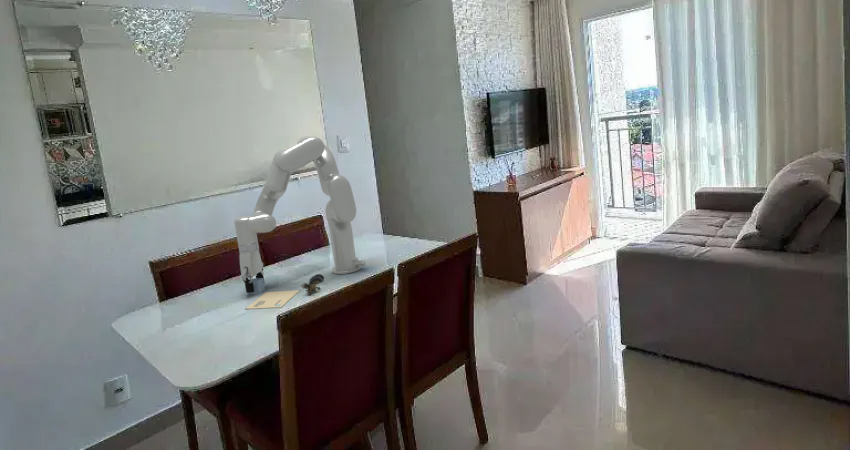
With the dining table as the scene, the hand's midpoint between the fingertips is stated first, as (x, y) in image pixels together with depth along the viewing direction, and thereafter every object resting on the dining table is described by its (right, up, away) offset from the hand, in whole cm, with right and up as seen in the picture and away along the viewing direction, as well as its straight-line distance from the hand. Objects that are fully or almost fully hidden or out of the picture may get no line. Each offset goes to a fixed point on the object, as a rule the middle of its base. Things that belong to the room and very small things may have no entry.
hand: (255, 288), depth 220 cm
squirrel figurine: (+25, -1, -8) cm, 26 cm away
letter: (+11, -3, -12) cm, 16 cm away
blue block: (0, -2, 0) cm, 2 cm away
